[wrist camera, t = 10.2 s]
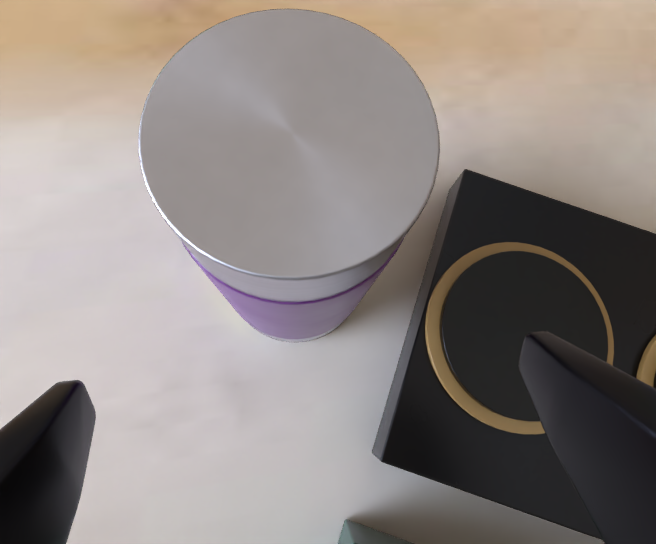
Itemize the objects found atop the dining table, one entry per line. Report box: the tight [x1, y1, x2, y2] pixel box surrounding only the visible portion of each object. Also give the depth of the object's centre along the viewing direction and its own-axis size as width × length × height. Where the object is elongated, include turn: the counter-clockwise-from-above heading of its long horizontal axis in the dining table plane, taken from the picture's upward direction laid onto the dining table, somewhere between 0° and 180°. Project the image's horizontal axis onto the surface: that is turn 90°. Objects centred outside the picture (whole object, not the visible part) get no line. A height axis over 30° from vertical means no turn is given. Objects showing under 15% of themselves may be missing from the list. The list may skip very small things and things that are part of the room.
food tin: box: [139, 9, 440, 342], centre depth 15 cm, size 6×6×12 cm
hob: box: [372, 169, 656, 540], centre depth 20 cm, size 13×17×3 cm
